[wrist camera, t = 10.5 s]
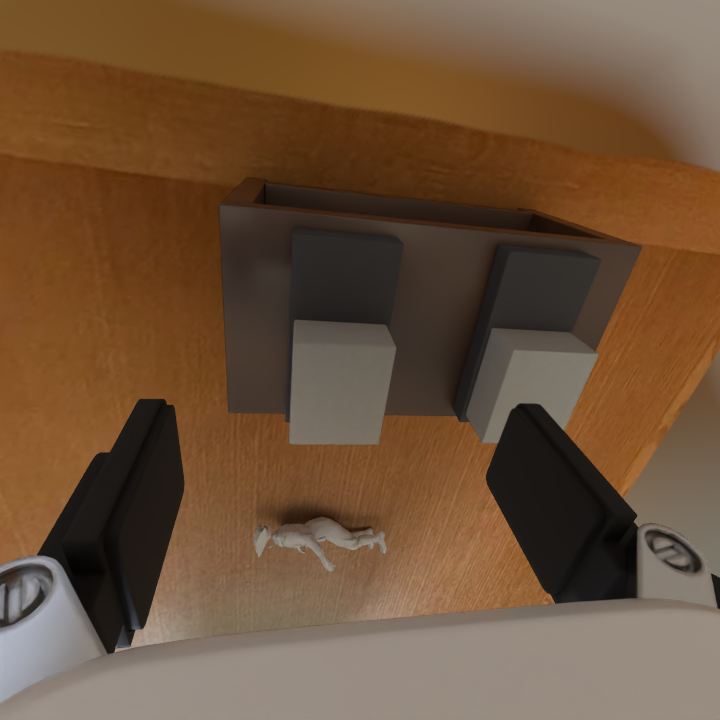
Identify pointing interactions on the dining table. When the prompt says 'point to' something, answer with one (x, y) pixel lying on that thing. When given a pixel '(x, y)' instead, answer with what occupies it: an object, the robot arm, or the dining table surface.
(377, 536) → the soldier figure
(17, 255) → the dining table surface
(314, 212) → the shoe rack
